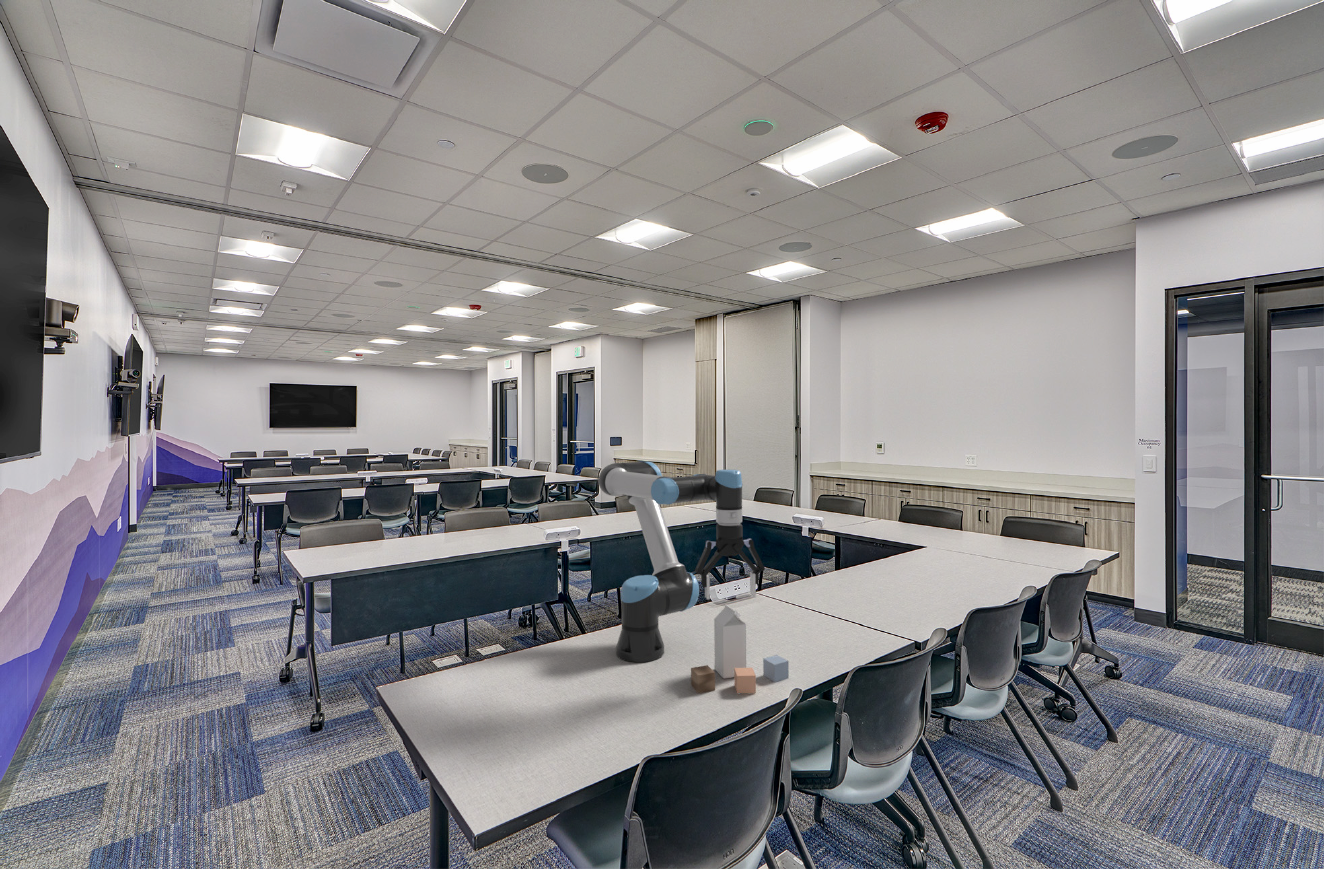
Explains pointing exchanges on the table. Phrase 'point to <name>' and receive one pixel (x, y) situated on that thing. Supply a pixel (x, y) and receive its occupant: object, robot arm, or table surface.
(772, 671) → the slate cube
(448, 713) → the table surface
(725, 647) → the milk carton
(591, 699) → the table surface
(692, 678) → the walnut cube
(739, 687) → the terracotta cube
